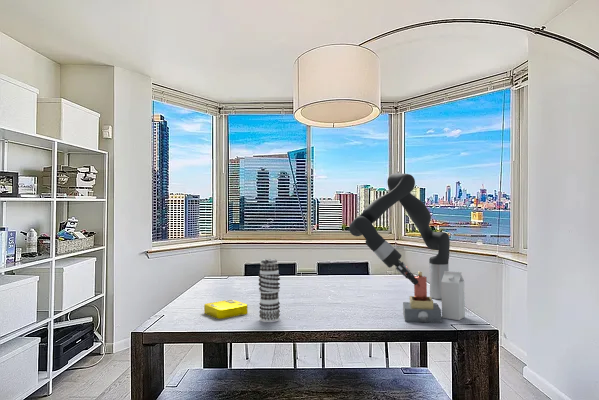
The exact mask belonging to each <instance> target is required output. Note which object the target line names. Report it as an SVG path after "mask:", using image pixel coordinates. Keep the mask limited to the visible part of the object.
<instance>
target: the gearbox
mask: <svg viewBox="0 0 599 400" xmlns="http://www.w3.org/2000/svg"><path fill="white" fill-rule="evenodd" d="M402 315H403V320H404V322H409V323H410V322H411V323H433V324H434V323H436V324H440V323H442V308H440V306H439V304H438V303H437V302H434V300H433V298H431V297H430V296H427V301H418V300H414V295H413V296H411V295H410V296H409V301H408V302H405V301H403V302H402Z"/></svg>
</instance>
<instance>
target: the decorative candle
mask: <svg viewBox="0 0 599 400" xmlns="http://www.w3.org/2000/svg"><path fill="white" fill-rule="evenodd" d="M279 263H280V262H278V261H277V259H276V258H263V259H261V261H260V262H259V264H260V267H259V269H260V270H259V273H258V274H257V276H258V286H259V287H258V290H259V293H260V298H259V303H258V304H259V307H258V308H259V311H258V313H259V321H260V322H264V323H273V322H279V321H280V320H281V318H280V316H281V313H280V312H281V311H280V308H281V307H280V298H279V297H280V296H279V292H280V288H281V286H280V285H281V284H280V282H279V281H280V280H281V278H280V276H281V274H279V272H280V271H279Z"/></svg>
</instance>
